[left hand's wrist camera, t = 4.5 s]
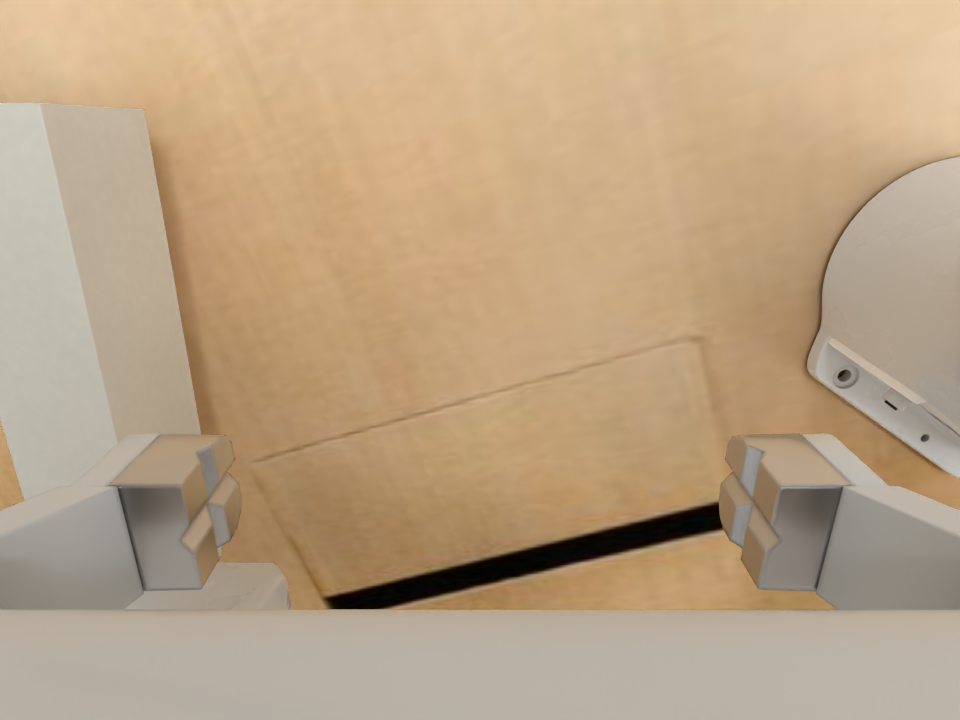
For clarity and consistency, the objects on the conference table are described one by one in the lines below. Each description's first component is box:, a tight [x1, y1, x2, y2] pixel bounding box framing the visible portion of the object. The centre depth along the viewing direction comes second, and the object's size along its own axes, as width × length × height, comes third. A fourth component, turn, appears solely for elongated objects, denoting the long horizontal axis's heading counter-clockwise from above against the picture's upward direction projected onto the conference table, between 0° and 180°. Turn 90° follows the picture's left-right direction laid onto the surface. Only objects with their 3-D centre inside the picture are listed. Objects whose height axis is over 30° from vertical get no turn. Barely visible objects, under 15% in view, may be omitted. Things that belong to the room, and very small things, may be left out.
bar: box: [0, 103, 222, 558], centre depth 34 cm, size 28×5×8 cm, turn 0°
